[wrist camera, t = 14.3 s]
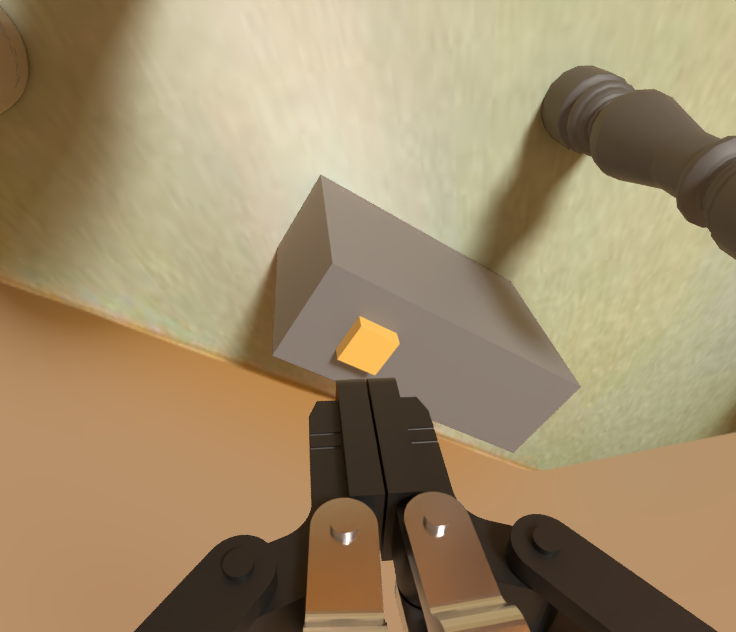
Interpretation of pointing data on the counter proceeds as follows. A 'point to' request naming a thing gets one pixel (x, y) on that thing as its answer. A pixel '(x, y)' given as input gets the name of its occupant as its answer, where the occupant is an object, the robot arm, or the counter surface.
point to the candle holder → (647, 145)
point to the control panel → (412, 320)
